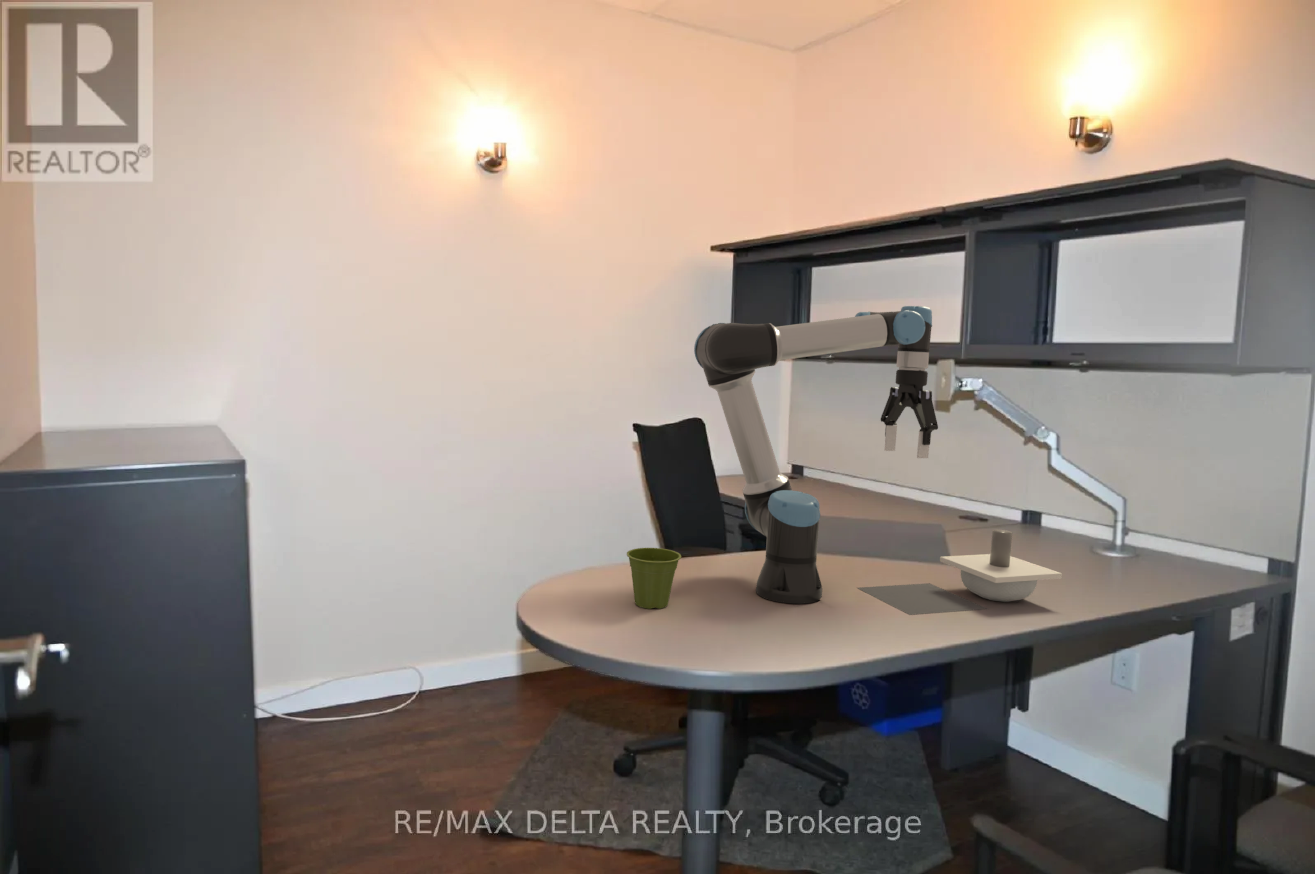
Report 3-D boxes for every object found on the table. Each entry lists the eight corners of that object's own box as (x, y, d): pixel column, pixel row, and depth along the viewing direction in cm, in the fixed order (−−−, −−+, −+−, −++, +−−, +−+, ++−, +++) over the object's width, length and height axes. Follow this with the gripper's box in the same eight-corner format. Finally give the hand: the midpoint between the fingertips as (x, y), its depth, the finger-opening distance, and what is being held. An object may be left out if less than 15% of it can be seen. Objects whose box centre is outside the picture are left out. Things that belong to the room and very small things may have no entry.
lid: (995, 582, 191) (998, 542, 190) (939, 561, 209) (942, 524, 208) (1061, 578, 198) (1065, 539, 197) (1002, 557, 216) (1005, 521, 215)
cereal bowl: (946, 596, 204) (948, 567, 204) (976, 584, 216) (979, 557, 215) (1017, 614, 193) (1020, 583, 192) (1046, 600, 204) (1048, 571, 204)
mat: (909, 616, 186) (909, 614, 186) (856, 589, 206) (856, 587, 206) (988, 611, 194) (988, 608, 193) (929, 585, 213) (929, 583, 213)
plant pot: (620, 610, 182) (622, 558, 181) (629, 594, 194) (631, 545, 192) (675, 615, 180) (678, 562, 179) (681, 599, 192) (684, 549, 191)
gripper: (957, 372, 203) (950, 461, 205) (895, 367, 226) (889, 447, 228) (931, 371, 200) (924, 461, 202) (870, 366, 223) (864, 447, 226)
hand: (905, 454), depth 215 cm, fingers open, 13 cm apart
